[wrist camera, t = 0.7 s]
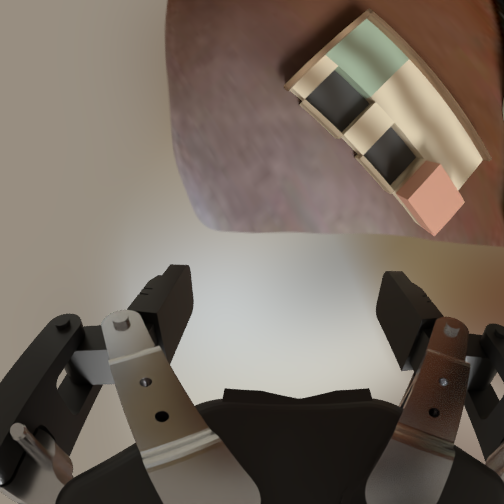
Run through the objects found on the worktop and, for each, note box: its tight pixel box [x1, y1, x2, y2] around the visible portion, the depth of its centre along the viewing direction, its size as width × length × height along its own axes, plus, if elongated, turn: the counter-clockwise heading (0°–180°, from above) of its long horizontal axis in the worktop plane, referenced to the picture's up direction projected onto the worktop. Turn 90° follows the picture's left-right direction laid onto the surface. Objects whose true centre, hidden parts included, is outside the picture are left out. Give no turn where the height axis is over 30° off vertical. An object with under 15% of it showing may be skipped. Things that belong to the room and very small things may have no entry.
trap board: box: [284, 8, 492, 226], centre depth 27 cm, size 15×24×4 cm, turn 49°
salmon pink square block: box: [396, 161, 465, 236], centre depth 28 cm, size 6×6×4 cm
